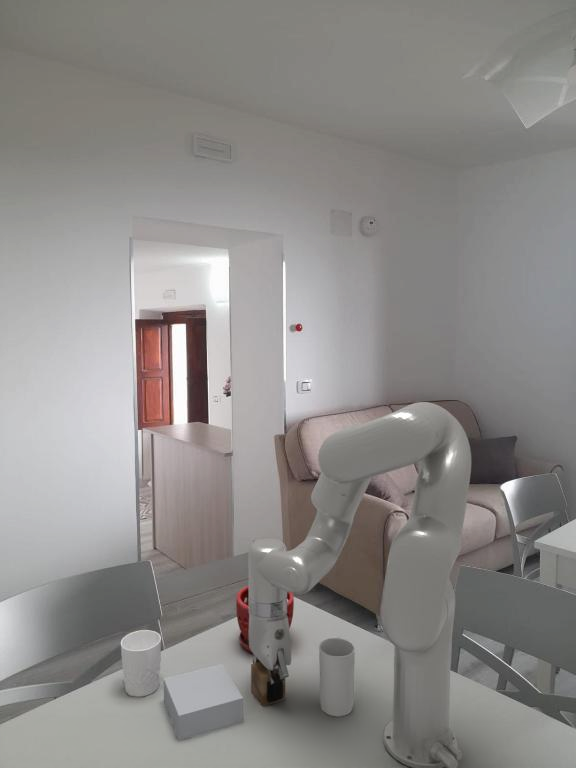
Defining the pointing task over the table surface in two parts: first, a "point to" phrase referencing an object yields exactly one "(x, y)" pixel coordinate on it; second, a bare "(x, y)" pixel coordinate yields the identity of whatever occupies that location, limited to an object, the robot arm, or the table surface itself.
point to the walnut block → (262, 683)
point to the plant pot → (244, 614)
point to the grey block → (202, 701)
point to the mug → (336, 676)
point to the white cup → (141, 662)
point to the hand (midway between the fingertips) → (268, 691)
